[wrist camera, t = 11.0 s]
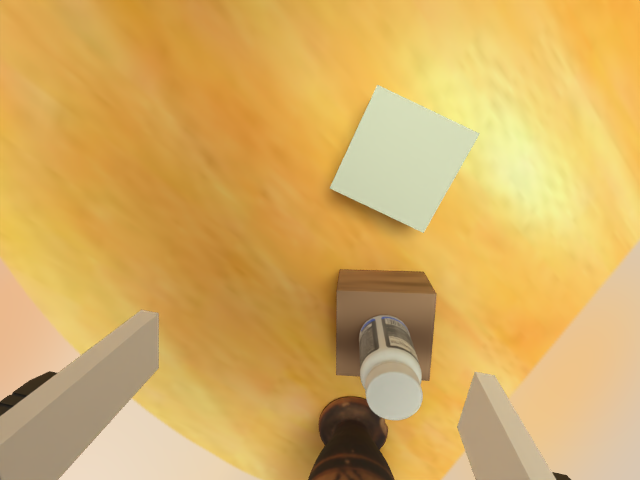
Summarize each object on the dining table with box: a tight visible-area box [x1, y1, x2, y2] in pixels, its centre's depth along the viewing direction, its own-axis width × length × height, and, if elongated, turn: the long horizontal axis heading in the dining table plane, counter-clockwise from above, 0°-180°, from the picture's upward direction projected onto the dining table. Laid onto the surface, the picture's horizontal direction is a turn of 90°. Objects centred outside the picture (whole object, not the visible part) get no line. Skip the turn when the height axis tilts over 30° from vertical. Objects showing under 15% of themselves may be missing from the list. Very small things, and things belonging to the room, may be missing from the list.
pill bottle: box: [359, 315, 423, 420], centre depth 28 cm, size 5×5×8 cm
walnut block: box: [336, 269, 436, 381], centre depth 35 cm, size 9×9×6 cm
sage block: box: [330, 85, 479, 233], centre depth 31 cm, size 9×9×6 cm
